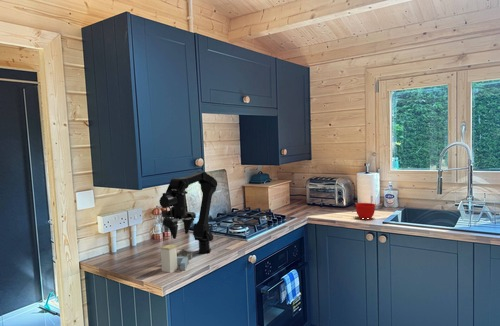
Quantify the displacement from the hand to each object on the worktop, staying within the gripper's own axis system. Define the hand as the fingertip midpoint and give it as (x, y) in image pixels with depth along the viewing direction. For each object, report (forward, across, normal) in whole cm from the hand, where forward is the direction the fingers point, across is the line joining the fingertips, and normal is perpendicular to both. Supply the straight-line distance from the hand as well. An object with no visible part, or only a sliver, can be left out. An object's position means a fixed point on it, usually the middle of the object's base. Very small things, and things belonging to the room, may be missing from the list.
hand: (180, 236), depth 172 cm
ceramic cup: (+13, -123, +66) cm, 141 cm away
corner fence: (+13, +7, 0) cm, 15 cm away
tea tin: (+13, +10, 0) cm, 16 cm away
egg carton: (+14, -3, -2) cm, 14 cm away
